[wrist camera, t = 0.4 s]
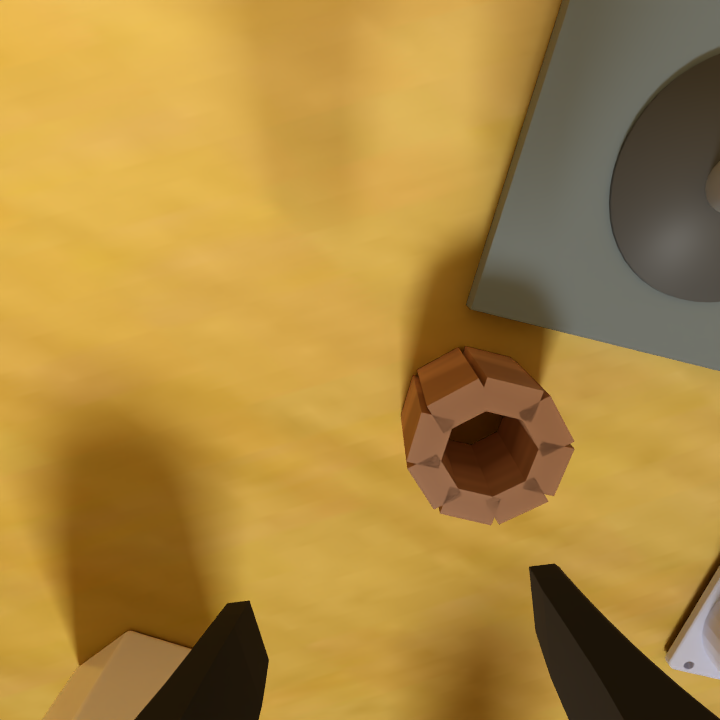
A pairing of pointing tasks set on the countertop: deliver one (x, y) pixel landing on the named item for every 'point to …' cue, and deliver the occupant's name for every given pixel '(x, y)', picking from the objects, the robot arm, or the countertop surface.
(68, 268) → the countertop surface
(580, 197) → the post board
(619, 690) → the robot arm
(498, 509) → the collar
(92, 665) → the jar
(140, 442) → the countertop surface
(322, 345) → the countertop surface
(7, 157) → the countertop surface
